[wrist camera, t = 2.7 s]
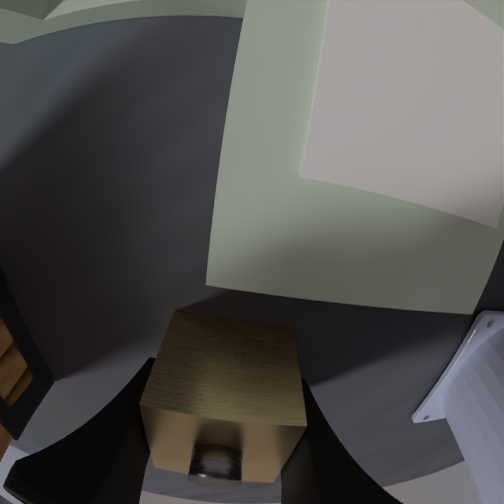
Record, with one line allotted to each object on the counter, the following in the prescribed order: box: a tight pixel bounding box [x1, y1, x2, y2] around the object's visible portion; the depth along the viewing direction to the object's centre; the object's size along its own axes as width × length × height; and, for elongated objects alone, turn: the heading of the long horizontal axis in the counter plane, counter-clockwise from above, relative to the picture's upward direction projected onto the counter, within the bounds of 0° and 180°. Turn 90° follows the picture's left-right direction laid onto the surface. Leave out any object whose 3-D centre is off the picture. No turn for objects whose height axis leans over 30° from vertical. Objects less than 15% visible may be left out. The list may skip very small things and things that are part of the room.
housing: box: [139, 311, 307, 489], centre depth 9 cm, size 4×4×6 cm
